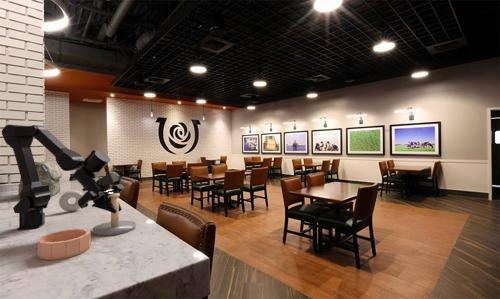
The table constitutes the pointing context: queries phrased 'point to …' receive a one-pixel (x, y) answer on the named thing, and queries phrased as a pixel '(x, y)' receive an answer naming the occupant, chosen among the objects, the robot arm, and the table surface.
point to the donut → (64, 200)
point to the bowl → (64, 244)
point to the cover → (114, 222)
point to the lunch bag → (47, 176)
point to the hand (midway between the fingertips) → (118, 211)
